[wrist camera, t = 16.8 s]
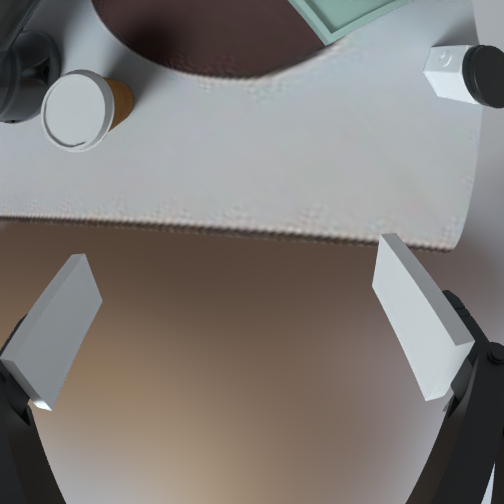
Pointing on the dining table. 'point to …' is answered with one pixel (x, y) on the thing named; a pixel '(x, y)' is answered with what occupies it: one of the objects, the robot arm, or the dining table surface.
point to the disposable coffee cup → (83, 109)
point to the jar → (467, 73)
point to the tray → (341, 15)
